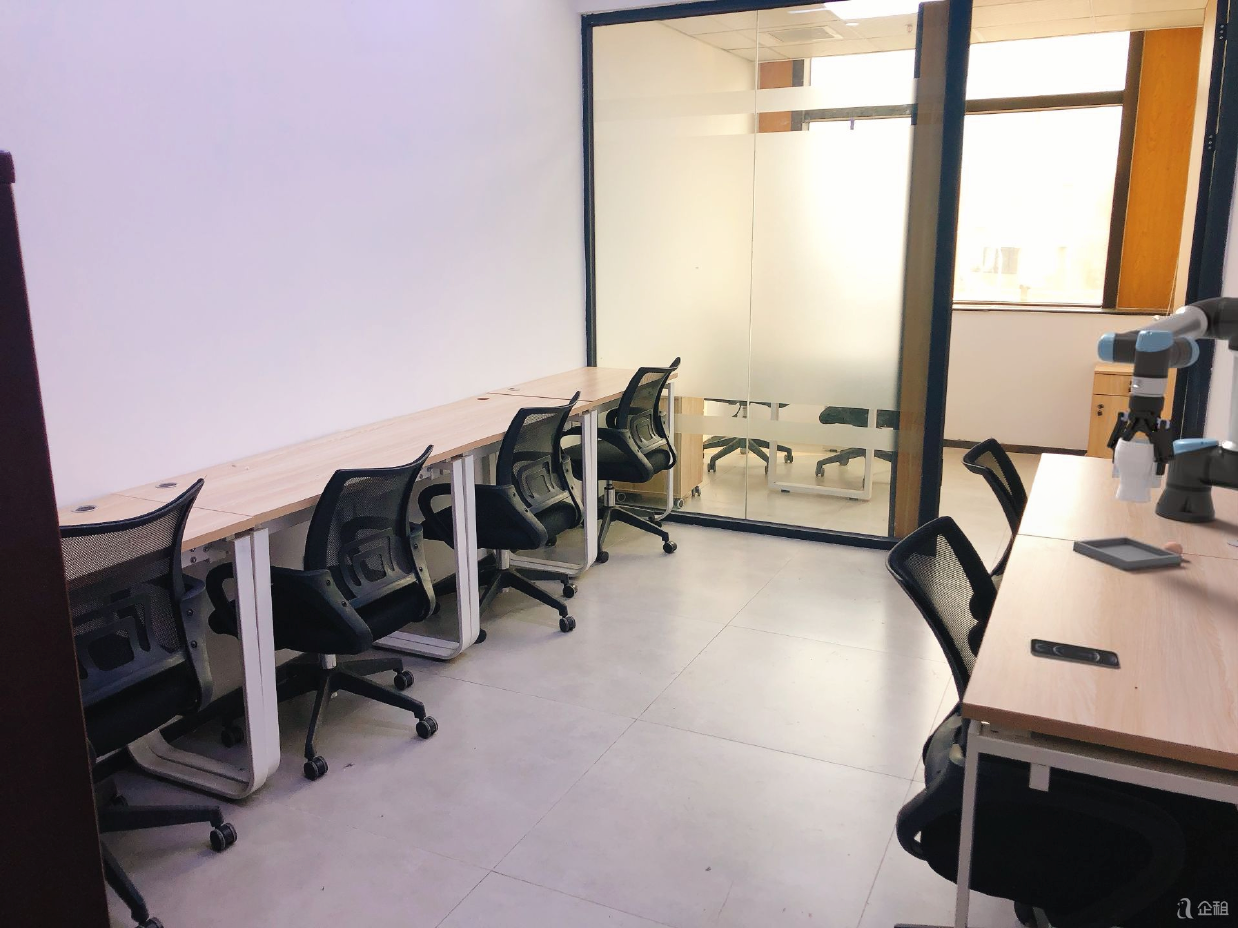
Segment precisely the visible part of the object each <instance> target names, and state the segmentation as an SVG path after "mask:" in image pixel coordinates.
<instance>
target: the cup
mask: <svg viewBox="0 0 1238 928" xmlns="http://www.w3.org/2000/svg"><path fill="white" fill-rule="evenodd" d="M1114 457H1115V462H1116V466H1117V469H1118V471H1119V473H1120V478H1119V484H1118V488H1117V491H1116V493H1115V494H1116V495H1115V499H1116V500H1119V501H1121V502H1126V503H1127V502H1128V503H1135V504H1148V503H1151V502H1152V494H1151V493H1152V492H1151V490H1152V488H1149V485H1150V478H1151V471H1152V464H1153V461H1155V460H1156V459H1155V456H1154V450H1153V444H1150V442H1149V439H1148V437H1135V436H1133V438H1132V439H1131V441H1130V442H1127V441H1123V438H1120V439H1119V441H1118V443H1117V446H1116V448H1115V456H1114Z"/></svg>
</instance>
